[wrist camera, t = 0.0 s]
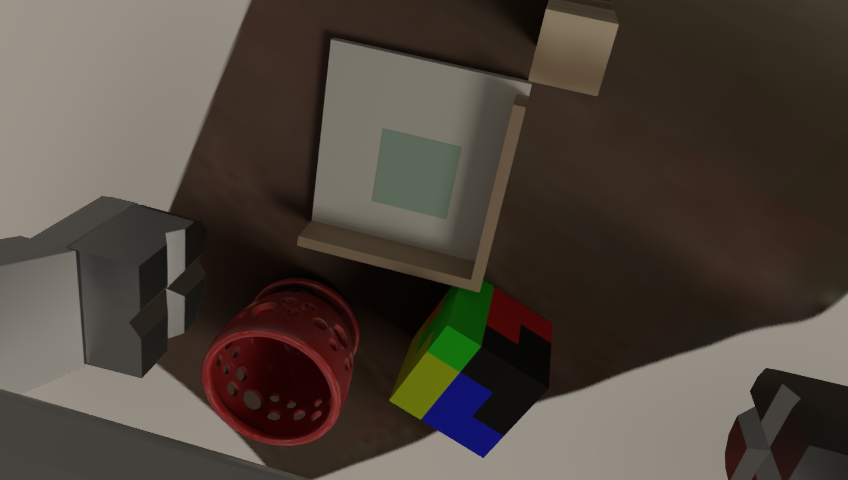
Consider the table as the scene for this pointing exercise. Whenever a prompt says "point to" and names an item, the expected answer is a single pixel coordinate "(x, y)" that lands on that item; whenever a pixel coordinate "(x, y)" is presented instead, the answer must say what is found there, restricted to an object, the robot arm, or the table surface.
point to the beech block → (574, 45)
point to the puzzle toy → (475, 366)
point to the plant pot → (284, 362)
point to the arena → (413, 162)
